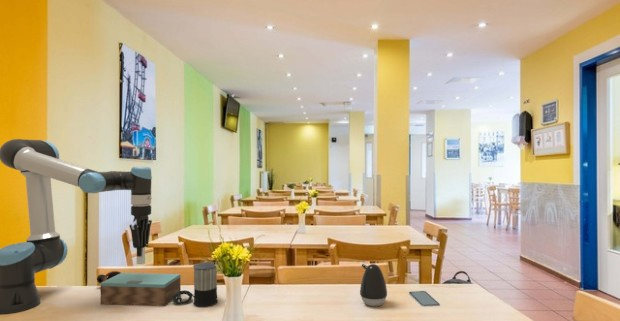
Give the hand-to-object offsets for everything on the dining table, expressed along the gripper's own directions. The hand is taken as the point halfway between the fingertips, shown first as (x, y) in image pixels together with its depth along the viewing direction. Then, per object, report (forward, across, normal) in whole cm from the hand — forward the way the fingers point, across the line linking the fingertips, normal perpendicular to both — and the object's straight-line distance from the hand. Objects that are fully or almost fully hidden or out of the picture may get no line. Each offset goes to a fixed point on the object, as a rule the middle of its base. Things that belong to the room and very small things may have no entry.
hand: (140, 263), depth 159 cm
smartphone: (+13, +9, -113) cm, 114 cm away
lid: (+7, 0, -1) cm, 7 cm away
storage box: (+14, 0, -1) cm, 14 cm away
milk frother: (+14, -2, -24) cm, 28 cm away
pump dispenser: (+13, +2, -93) cm, 94 cm away
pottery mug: (+15, +12, +20) cm, 28 cm away
